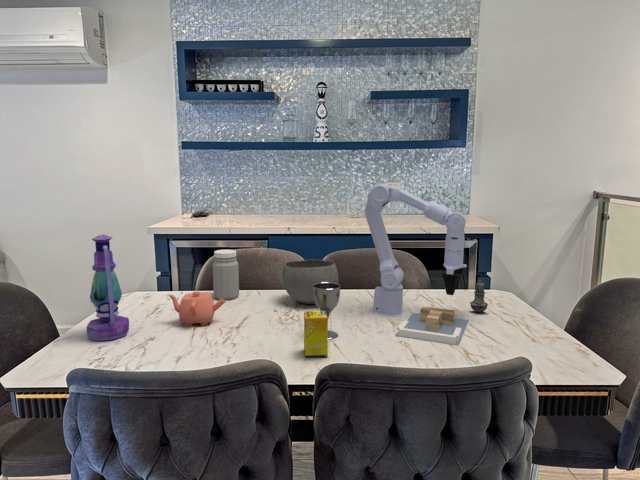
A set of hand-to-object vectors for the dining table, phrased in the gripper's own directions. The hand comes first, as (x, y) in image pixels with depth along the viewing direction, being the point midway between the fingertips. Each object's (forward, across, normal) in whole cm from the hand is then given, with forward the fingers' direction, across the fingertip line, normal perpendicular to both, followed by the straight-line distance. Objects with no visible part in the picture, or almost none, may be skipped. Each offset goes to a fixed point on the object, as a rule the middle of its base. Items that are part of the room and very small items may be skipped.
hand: (451, 291), depth 145 cm
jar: (+10, -9, +82) cm, 83 cm away
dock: (+9, -19, +3) cm, 21 cm away
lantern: (+11, -57, +89) cm, 106 cm away
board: (+10, -11, +3) cm, 15 cm away
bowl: (+10, -1, +50) cm, 51 cm away
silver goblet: (+10, -30, +31) cm, 44 cm away
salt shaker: (+10, +11, -8) cm, 16 cm away
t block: (+9, -9, +3) cm, 13 cm away
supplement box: (+10, -44, +28) cm, 53 cm away
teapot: (+10, -37, +73) cm, 82 cm away
